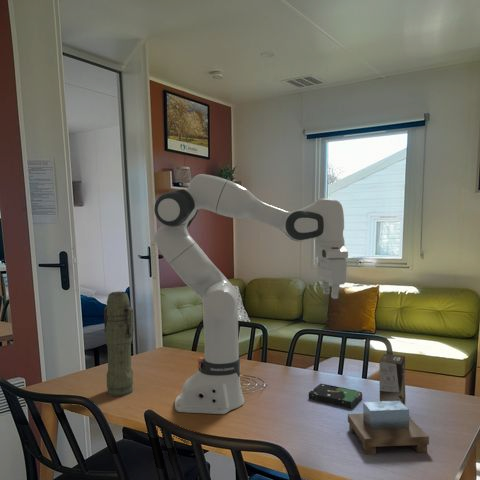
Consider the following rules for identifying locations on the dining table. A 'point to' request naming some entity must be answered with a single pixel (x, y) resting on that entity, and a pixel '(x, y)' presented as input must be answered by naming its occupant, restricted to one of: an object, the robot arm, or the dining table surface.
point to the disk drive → (335, 395)
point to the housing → (386, 415)
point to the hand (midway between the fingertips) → (330, 295)
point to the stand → (387, 435)
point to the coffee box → (392, 378)
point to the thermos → (119, 344)
